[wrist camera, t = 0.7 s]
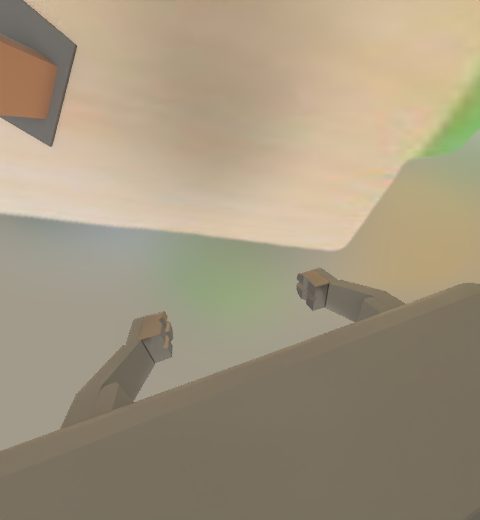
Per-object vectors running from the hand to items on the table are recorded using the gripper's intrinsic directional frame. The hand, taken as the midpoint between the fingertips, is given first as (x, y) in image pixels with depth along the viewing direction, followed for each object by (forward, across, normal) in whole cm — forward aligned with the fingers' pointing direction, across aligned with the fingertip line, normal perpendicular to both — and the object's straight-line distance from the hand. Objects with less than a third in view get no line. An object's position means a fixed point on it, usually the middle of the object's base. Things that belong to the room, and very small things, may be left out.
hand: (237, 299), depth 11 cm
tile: (+47, +24, -23) cm, 58 cm away
